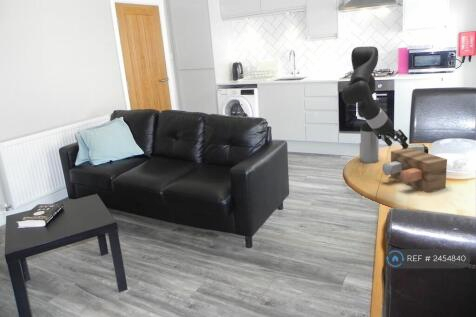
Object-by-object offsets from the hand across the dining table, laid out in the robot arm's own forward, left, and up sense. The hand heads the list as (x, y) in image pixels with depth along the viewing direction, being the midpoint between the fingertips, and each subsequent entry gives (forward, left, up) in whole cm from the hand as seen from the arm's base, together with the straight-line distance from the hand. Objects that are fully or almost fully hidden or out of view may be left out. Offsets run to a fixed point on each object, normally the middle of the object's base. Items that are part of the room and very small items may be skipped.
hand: (398, 145), depth 168 cm
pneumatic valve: (-24, +31, -22) cm, 45 cm away
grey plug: (-12, +10, -17) cm, 23 cm away
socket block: (-6, +16, -22) cm, 28 cm away
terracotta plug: (0, +10, -17) cm, 20 cm away
